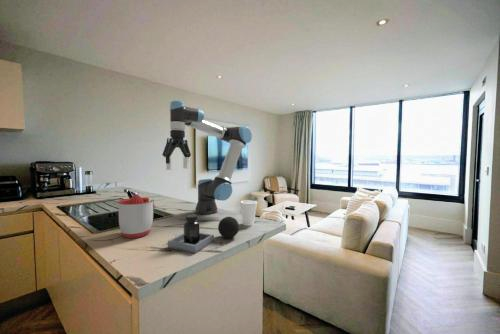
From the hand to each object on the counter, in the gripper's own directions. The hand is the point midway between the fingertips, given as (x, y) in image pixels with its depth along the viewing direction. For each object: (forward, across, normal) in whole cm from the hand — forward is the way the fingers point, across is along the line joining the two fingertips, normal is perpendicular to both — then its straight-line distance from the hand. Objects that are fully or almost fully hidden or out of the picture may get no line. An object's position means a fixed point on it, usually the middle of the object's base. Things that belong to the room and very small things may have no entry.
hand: (177, 169), depth 120 cm
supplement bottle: (+31, +18, +23) cm, 42 cm away
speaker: (+32, +4, +34) cm, 47 cm away
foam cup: (+32, -19, +35) cm, 51 cm away
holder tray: (+32, +18, +23) cm, 43 cm away
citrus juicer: (+32, +18, -9) cm, 38 cm away
